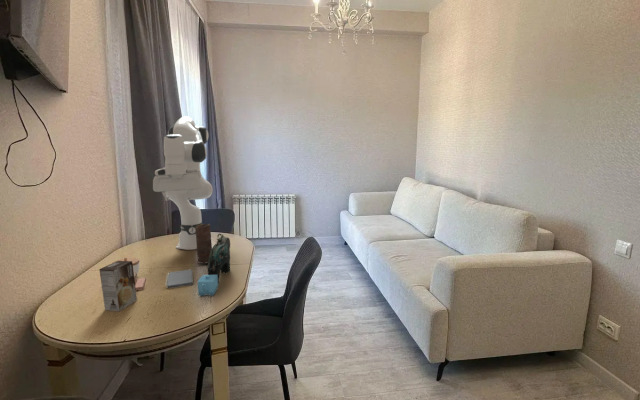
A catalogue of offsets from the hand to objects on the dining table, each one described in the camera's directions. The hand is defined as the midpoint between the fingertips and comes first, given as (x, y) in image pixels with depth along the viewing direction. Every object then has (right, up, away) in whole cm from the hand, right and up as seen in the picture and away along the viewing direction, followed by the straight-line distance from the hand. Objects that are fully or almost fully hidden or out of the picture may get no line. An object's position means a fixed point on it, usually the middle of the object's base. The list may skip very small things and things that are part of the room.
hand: (178, 200), depth 153 cm
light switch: (-14, -37, -13) cm, 41 cm away
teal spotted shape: (+21, -35, -4) cm, 41 cm away
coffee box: (-9, -40, -29) cm, 50 cm away
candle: (+7, -32, +15) cm, 36 cm away
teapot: (+21, -38, -20) cm, 48 cm away
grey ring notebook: (+3, -36, -6) cm, 36 cm away
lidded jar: (-22, -36, -3) cm, 42 cm away
